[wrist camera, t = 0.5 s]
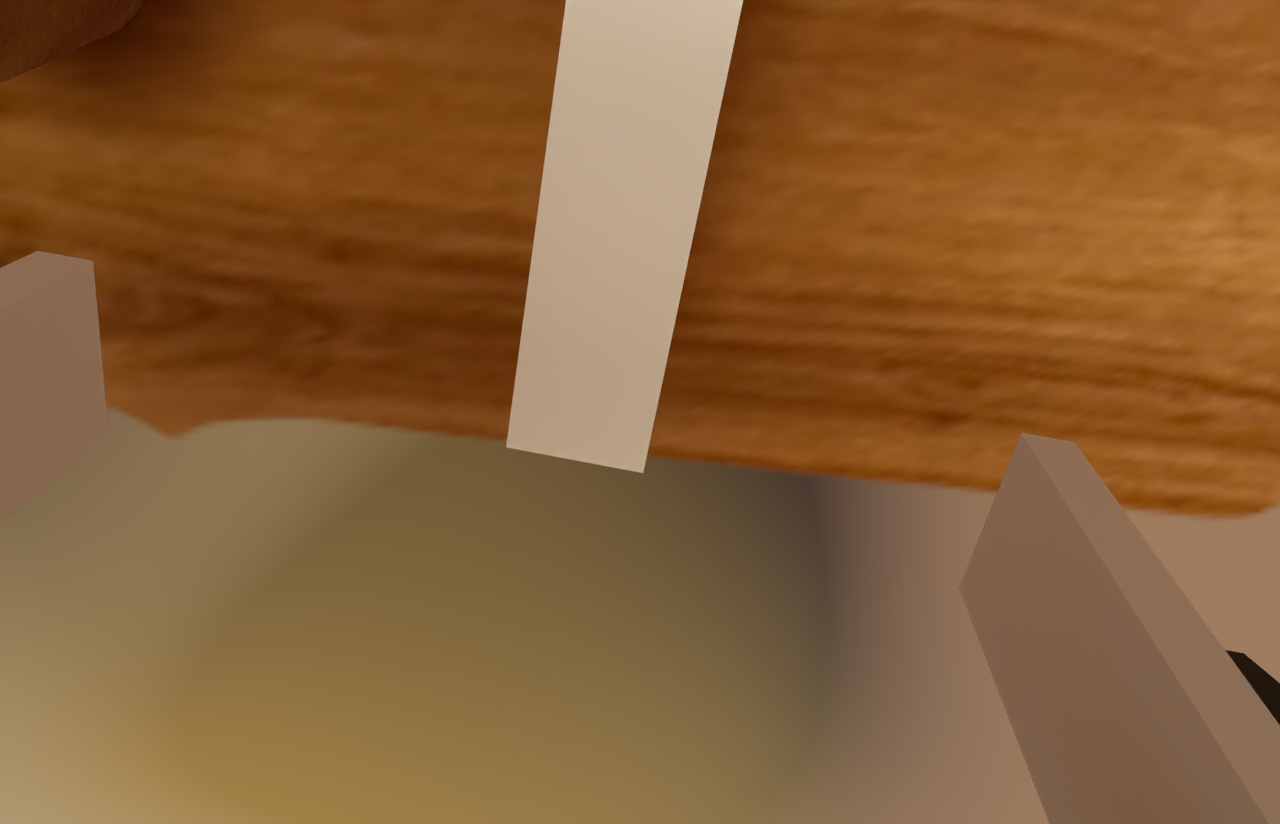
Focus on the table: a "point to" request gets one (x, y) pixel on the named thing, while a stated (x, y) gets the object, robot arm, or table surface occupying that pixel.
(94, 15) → the disposable coffee cup
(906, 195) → the table surface
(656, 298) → the white block
